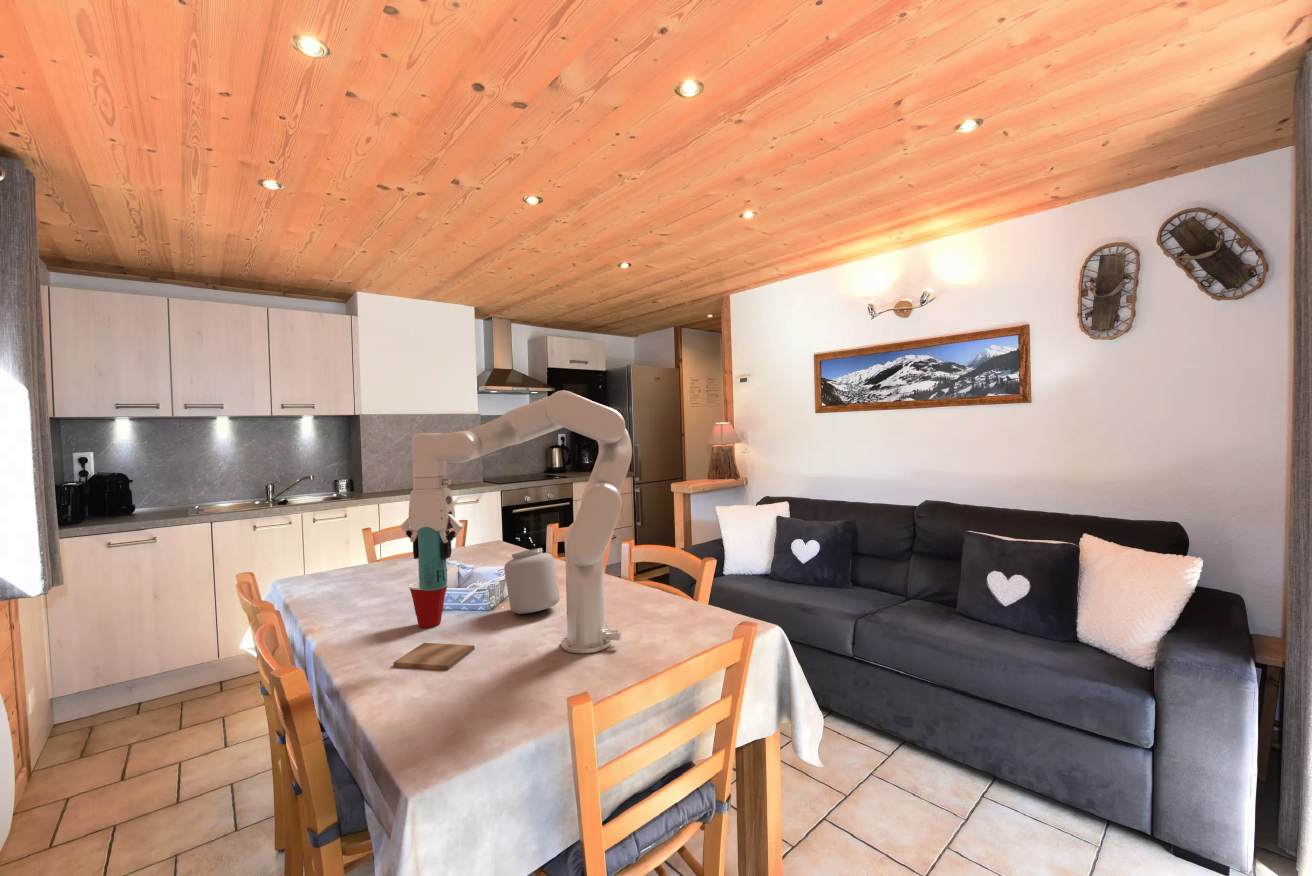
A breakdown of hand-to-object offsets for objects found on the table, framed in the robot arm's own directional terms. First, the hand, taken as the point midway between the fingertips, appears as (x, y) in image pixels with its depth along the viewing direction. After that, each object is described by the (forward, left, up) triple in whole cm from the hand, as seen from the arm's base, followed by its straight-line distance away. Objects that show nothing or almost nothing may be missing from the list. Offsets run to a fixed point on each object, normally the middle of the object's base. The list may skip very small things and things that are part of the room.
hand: (432, 557), depth 135 cm
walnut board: (0, 0, -24) cm, 24 cm away
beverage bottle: (0, 0, -9) cm, 9 cm away
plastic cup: (+15, -21, -25) cm, 36 cm away
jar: (-9, -36, -25) cm, 45 cm away
